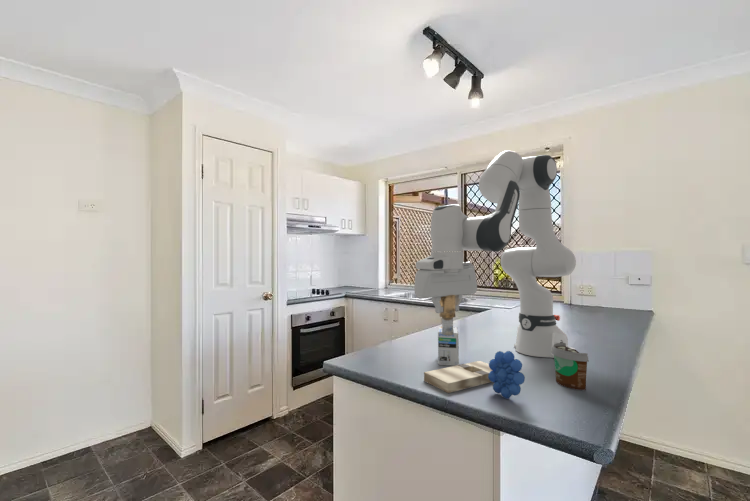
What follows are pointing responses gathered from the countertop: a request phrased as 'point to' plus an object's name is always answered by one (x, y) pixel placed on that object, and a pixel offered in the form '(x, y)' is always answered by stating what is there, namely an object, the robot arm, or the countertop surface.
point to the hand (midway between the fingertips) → (447, 312)
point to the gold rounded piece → (447, 314)
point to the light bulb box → (448, 348)
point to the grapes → (506, 374)
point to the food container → (570, 366)
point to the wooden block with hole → (459, 376)
